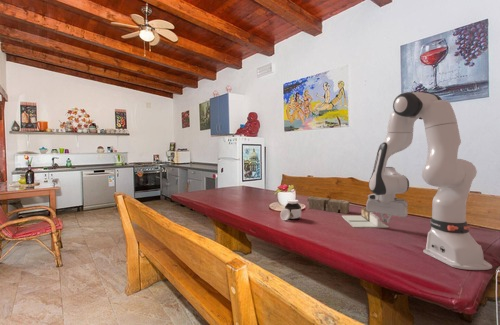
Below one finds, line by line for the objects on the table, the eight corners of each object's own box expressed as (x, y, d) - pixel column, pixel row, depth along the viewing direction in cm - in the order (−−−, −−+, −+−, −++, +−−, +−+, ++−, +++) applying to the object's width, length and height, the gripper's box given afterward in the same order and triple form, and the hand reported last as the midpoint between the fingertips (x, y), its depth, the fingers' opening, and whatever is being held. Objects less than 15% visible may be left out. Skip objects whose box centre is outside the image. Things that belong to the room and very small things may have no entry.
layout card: (388, 227, 144) (388, 226, 144) (353, 227, 146) (353, 226, 146) (371, 216, 168) (371, 215, 168) (341, 216, 170) (341, 215, 170)
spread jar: (302, 217, 167) (302, 199, 167) (297, 222, 157) (297, 203, 157) (284, 216, 172) (284, 198, 172) (278, 220, 162) (278, 201, 162)
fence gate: (379, 226, 144) (379, 217, 143) (377, 226, 144) (377, 217, 143) (371, 221, 154) (371, 212, 154) (369, 221, 155) (369, 212, 154)
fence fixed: (371, 222, 155) (371, 210, 155) (368, 222, 155) (369, 210, 155) (363, 216, 168) (363, 206, 167) (361, 216, 168) (361, 206, 168)
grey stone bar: (350, 213, 181) (311, 206, 200) (350, 201, 180) (312, 195, 199) (346, 215, 175) (306, 208, 194) (346, 203, 174) (307, 197, 193)
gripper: (409, 198, 136) (409, 225, 136) (370, 193, 151) (369, 217, 152) (405, 200, 131) (404, 227, 132) (365, 195, 147) (364, 219, 148)
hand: (385, 222), depth 142 cm, fingers closed
